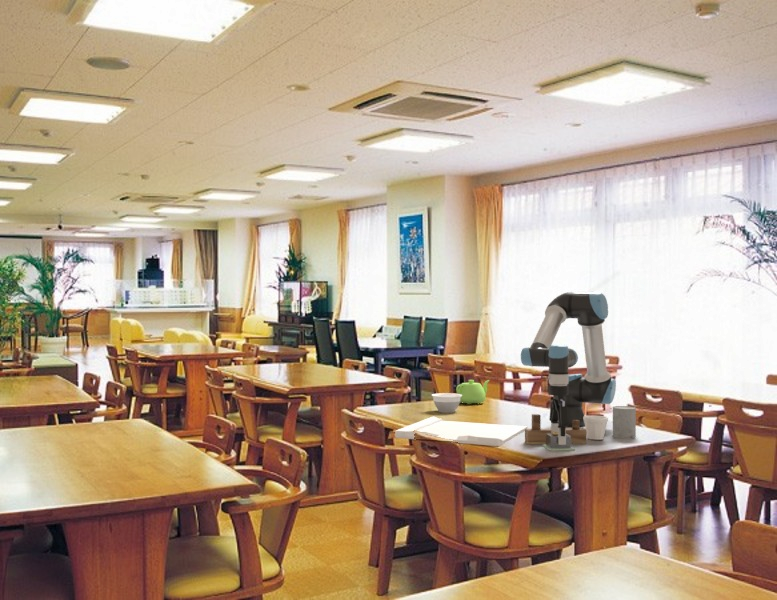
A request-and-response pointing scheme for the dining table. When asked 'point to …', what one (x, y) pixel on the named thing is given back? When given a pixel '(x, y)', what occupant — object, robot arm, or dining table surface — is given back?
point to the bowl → (446, 401)
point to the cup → (595, 426)
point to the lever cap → (553, 440)
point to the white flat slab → (462, 431)
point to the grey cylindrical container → (624, 422)
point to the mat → (557, 448)
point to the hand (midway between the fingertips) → (558, 442)
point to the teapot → (472, 392)
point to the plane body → (539, 434)
